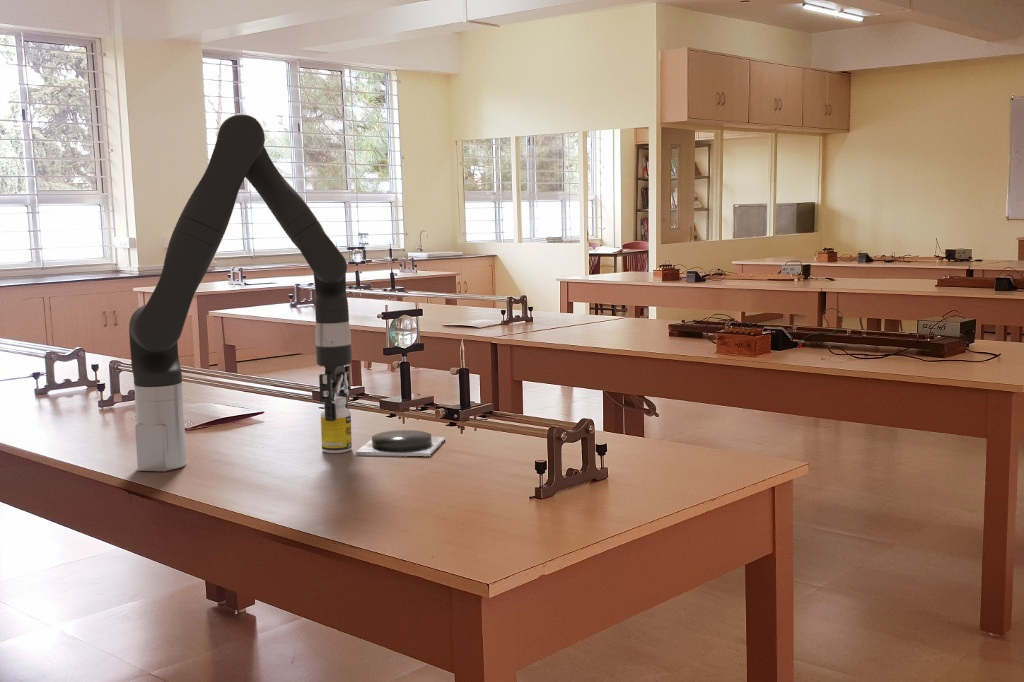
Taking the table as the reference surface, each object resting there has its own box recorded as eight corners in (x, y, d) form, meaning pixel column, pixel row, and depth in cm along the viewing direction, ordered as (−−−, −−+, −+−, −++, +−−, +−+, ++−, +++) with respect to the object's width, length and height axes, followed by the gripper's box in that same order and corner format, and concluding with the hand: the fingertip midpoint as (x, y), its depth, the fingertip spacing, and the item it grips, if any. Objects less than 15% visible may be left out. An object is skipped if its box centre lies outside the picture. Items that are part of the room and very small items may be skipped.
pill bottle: (345, 454, 213) (343, 401, 212) (317, 453, 214) (315, 400, 213) (356, 447, 219) (354, 395, 218) (328, 446, 221) (326, 395, 219)
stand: (429, 457, 210) (429, 445, 210) (356, 455, 212) (355, 443, 212) (445, 440, 226) (444, 429, 225) (376, 438, 228) (376, 428, 228)
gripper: (340, 347, 207) (343, 424, 209) (359, 338, 221) (363, 410, 223) (305, 347, 208) (309, 423, 210) (327, 338, 222) (330, 410, 224)
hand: (336, 416), depth 216 cm, fingers open, 8 cm apart
